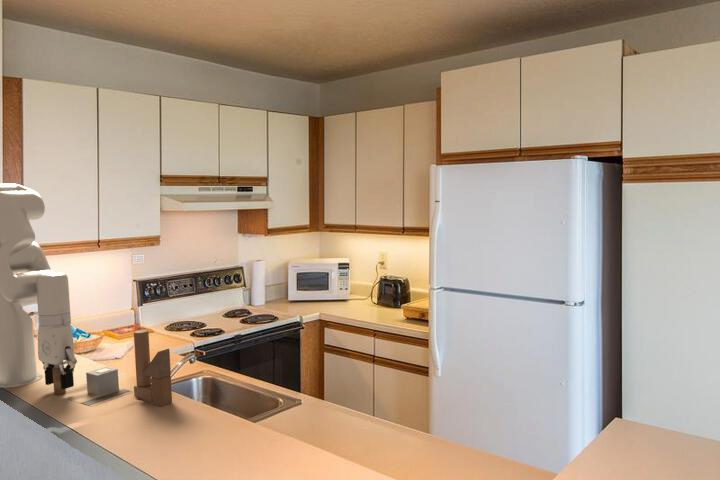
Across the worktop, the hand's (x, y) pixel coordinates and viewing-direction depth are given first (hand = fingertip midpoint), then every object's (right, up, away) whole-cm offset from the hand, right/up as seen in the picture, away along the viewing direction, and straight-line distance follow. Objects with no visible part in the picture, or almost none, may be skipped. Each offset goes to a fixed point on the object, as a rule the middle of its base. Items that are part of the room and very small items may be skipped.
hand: (59, 385), depth 154 cm
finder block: (+11, -2, +1) cm, 11 cm away
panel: (+9, -3, 0) cm, 10 cm away
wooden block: (+27, -3, -4) cm, 27 cm away
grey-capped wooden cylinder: (0, -2, 0) cm, 2 cm away
